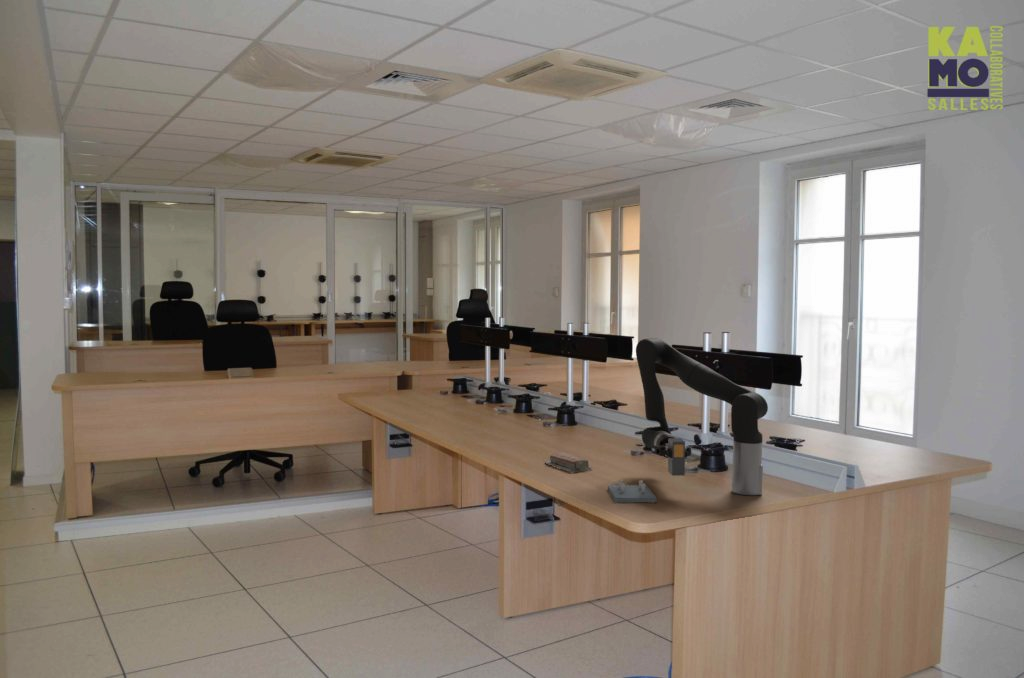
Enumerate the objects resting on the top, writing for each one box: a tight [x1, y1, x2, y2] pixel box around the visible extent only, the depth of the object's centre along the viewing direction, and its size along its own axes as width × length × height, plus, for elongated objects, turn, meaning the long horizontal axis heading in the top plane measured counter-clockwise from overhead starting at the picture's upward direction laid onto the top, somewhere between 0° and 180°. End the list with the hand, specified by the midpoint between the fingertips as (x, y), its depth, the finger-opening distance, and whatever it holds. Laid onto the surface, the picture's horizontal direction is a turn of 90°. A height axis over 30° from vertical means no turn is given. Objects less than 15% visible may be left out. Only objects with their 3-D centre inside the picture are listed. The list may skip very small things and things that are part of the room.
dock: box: [607, 479, 657, 504], centre depth 245 cm, size 13×16×4 cm
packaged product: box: [543, 451, 593, 473], centre depth 287 cm, size 18×5×10 cm
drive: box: [667, 437, 686, 477], centre depth 245 cm, size 4×6×11 cm, turn 1°
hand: (678, 454), depth 243 cm, fingers closed on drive, 4 cm apart
